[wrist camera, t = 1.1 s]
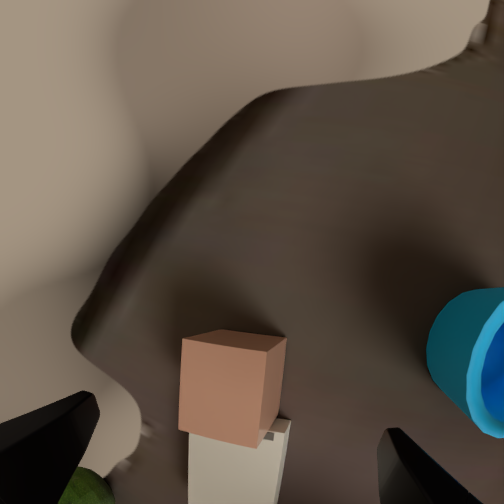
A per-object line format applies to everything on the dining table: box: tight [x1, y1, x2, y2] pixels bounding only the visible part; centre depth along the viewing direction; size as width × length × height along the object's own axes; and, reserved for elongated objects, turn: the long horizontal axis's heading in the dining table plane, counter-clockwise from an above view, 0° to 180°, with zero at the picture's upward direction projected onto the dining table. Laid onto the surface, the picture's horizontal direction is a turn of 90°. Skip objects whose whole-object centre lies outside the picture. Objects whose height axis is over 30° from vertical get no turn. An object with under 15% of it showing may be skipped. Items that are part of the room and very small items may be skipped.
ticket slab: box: [188, 418, 291, 504], centre depth 20 cm, size 10×7×3 cm
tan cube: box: [179, 329, 287, 449], centre depth 19 cm, size 6×5×6 cm
